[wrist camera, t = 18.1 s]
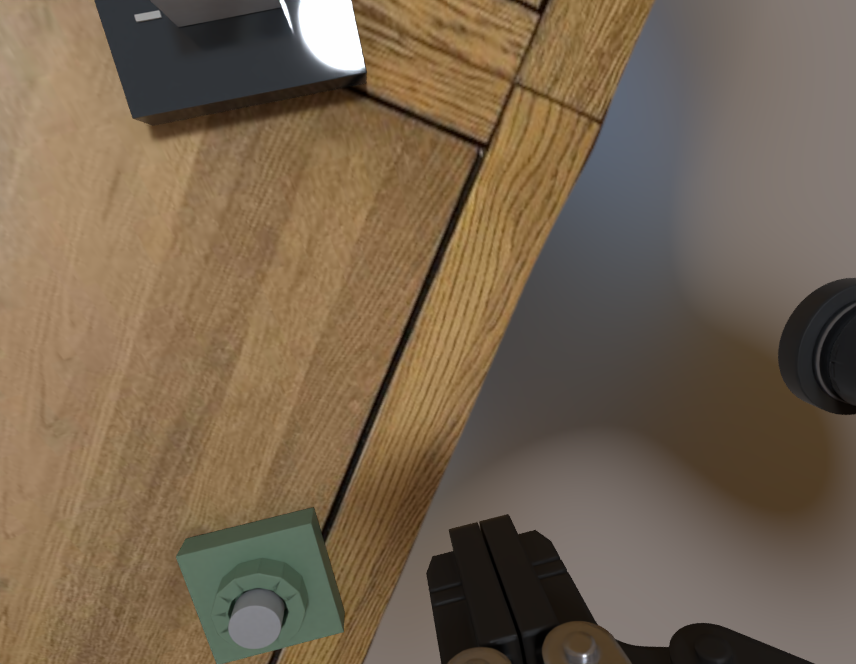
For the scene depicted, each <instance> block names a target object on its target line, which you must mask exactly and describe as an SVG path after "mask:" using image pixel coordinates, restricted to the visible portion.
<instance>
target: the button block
mask: <svg viewBox="0 0 856 664" xmlns="http://www.w3.org/2000/svg"><path fill="white" fill-rule="evenodd" d="M176 558H177V561H178V564H179V566H180V569H181V572H182V574H183V577H184V579H185V582H186V585H187V587H188V590H189V593H190V595H191V598H192V601H193V603H194V606H195V608H196V611H197V614H198V616H199V619H200V622H201V624H202V627H203V630H204V632H205V635H206V637H207V640H208V643H209V645H210V648H211V651H212V653H213V656H214V658H215V661H216V664H223V663H227V662H231V661H235V660H239V659H242V658H246V657H250V656H254V655H258V654H261V653H265V652H269V651H273V650H277V649H281V648H284V647H288V646H292V645H296V644H300V643H303V642H307V641H311V640H315V639H319V638H322V637H326V636H330V635H334V634H338V633H342V632H344V613H345V611H344V608H343V605H342V601H341V598H340V594H339V591H338V588H337V584H336V581H335V577H334V574H333V571H332V567H331V564H330V560H329V557H328V554H327V550H326V547H325V543H324V540H323V537H322V533H321V530H320V526H319V523H318V520H317V516H316V513H315V509H314V507H313V508H309V509H305V510H301V511H296V512H292V513H288V514H284V515H280V516H276V517H272V518H268V519H264V520H260V521H256V522H252V523H248V524H244V525H240V526H236V527H232V528H228V529H224V530H219V531H215V532H211V533H207V534H203V535H199V536H195V537H191V538H187V539H185V541H184V543H183V545H182V547H181V548H180V550H179V552H178V554H177V556H176ZM252 589H267V590H270V591H273V592H275V593H276V594H277V595H278V596H279V597H280V598H281V599H282V601H283V603H284V609H285V610H284V616H283V621H282V626H281V631H280V634H279V636H278V637H277V639H276V640H275V641H274V642H273V643H271V644H270V645H268V646H266V647H263V648H259V649H248V648H244V647H242V646H240V645H238V644H236V643H235V642H234V641H233V640H232V638H231V637H230V634H229V631H228V624H229V621H230V618H231V615H232V611H233V608H234V605H235V603H236V601H237V599H238V598H239V597H240V596H241V595H242V594H244V593H245V592H247V591H249V590H252Z"/></svg>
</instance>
